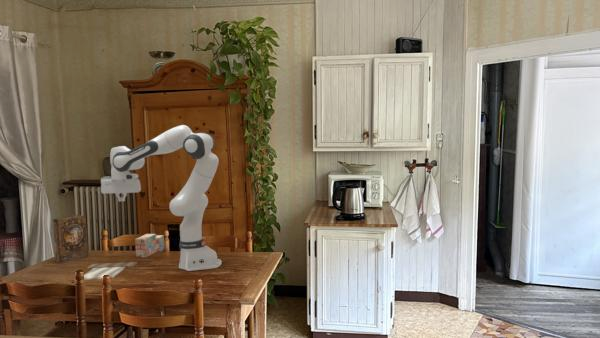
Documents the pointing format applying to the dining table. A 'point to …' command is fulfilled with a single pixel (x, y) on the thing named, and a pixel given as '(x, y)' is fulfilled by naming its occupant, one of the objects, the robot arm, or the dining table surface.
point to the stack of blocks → (149, 244)
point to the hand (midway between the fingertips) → (121, 201)
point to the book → (70, 238)
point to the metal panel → (103, 272)
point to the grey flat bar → (113, 265)
